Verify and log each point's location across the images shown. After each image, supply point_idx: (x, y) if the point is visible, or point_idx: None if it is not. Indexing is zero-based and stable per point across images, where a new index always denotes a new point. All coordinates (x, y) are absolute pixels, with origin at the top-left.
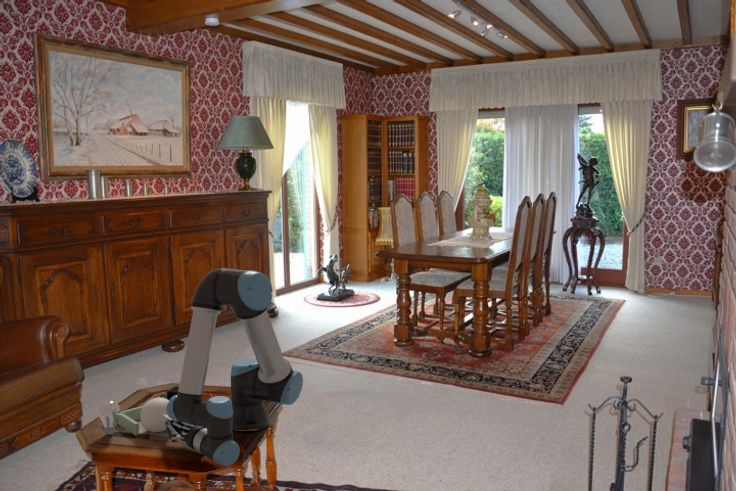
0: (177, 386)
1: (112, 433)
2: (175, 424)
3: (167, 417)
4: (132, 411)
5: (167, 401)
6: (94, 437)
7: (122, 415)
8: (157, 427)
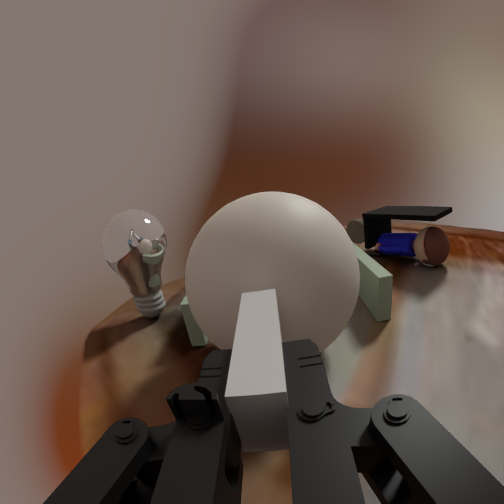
0: (390, 206)
1: (152, 315)
2: (172, 502)
3: (242, 322)
4: None
5: (304, 207)
6: (127, 312)
7: None
8: None
